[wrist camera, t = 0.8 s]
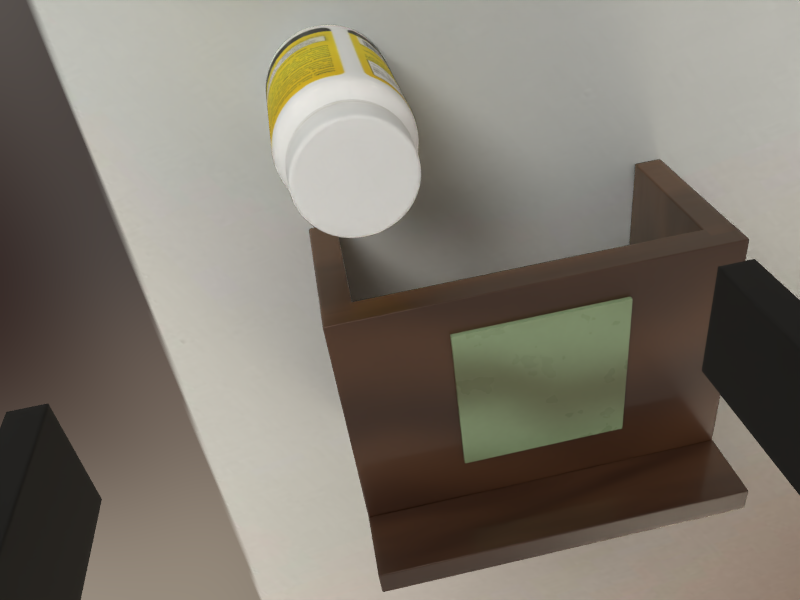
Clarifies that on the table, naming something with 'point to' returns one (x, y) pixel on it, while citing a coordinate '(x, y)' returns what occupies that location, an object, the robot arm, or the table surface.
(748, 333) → the robot arm
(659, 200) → the shelf
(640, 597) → the table surface
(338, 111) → the supplement bottle
